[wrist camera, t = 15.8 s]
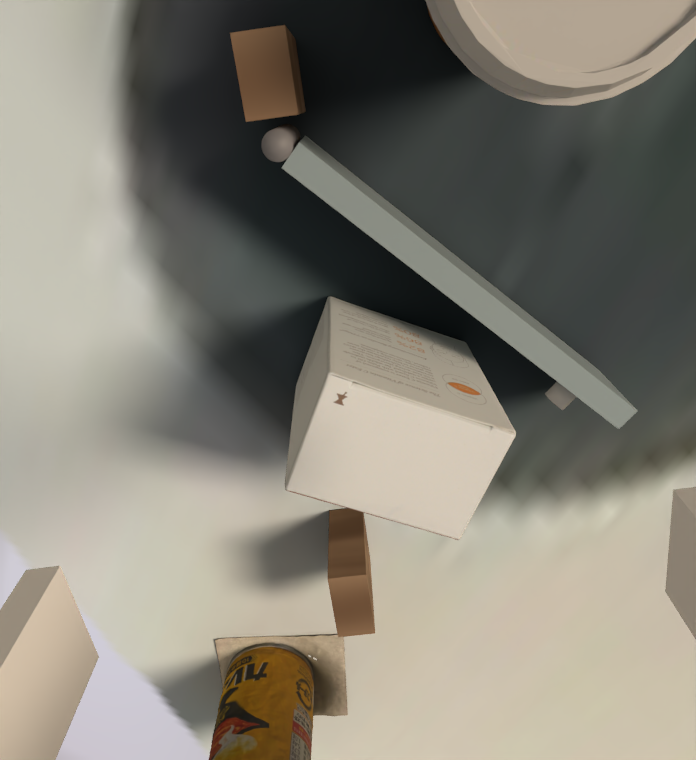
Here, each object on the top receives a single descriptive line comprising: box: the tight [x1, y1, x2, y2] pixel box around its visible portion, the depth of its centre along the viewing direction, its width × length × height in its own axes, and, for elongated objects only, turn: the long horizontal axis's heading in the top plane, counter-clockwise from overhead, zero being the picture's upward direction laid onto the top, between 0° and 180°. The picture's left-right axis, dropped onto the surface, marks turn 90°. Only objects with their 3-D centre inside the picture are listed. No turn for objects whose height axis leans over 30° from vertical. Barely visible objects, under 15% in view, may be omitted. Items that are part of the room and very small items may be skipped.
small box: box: [285, 296, 516, 540], centre depth 30 cm, size 8×6×10 cm
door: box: [261, 124, 637, 429], centre depth 30 cm, size 21×2×6 cm, turn 53°
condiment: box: [209, 635, 348, 760], centre depth 39 cm, size 7×8×12 cm
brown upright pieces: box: [230, 25, 375, 637], centre depth 32 cm, size 29×2×6 cm, turn 7°
